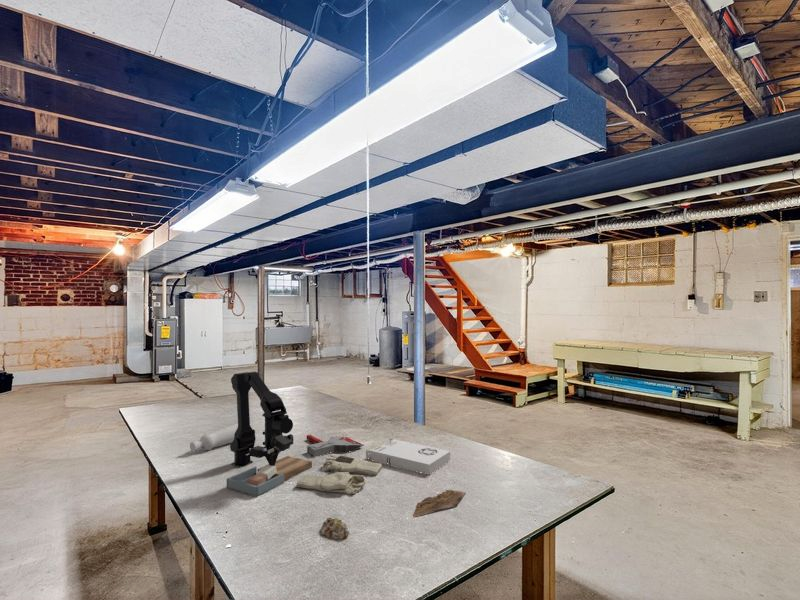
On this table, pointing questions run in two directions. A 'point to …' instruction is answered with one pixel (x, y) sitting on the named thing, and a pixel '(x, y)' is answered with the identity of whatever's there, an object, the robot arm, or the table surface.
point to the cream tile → (268, 471)
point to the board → (290, 467)
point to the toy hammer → (331, 445)
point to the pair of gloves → (341, 475)
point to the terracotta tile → (257, 479)
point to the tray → (241, 485)
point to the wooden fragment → (438, 502)
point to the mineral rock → (334, 529)
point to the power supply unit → (409, 456)
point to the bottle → (215, 439)
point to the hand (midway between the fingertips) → (272, 467)
